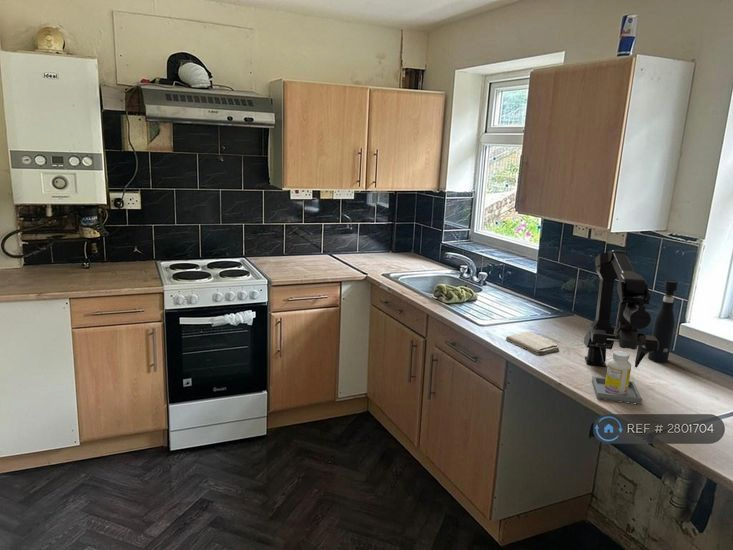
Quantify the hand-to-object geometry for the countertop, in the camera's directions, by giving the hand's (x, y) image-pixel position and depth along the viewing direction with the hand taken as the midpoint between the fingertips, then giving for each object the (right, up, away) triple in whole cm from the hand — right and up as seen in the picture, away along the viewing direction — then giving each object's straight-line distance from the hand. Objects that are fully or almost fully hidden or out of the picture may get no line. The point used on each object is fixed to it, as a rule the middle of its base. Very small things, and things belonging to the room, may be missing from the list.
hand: (619, 365), depth 171 cm
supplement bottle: (0, -9, +2) cm, 9 cm away
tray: (0, -9, +2) cm, 10 cm away
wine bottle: (+28, -3, +30) cm, 42 cm away
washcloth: (-15, 0, +41) cm, 43 cm away
